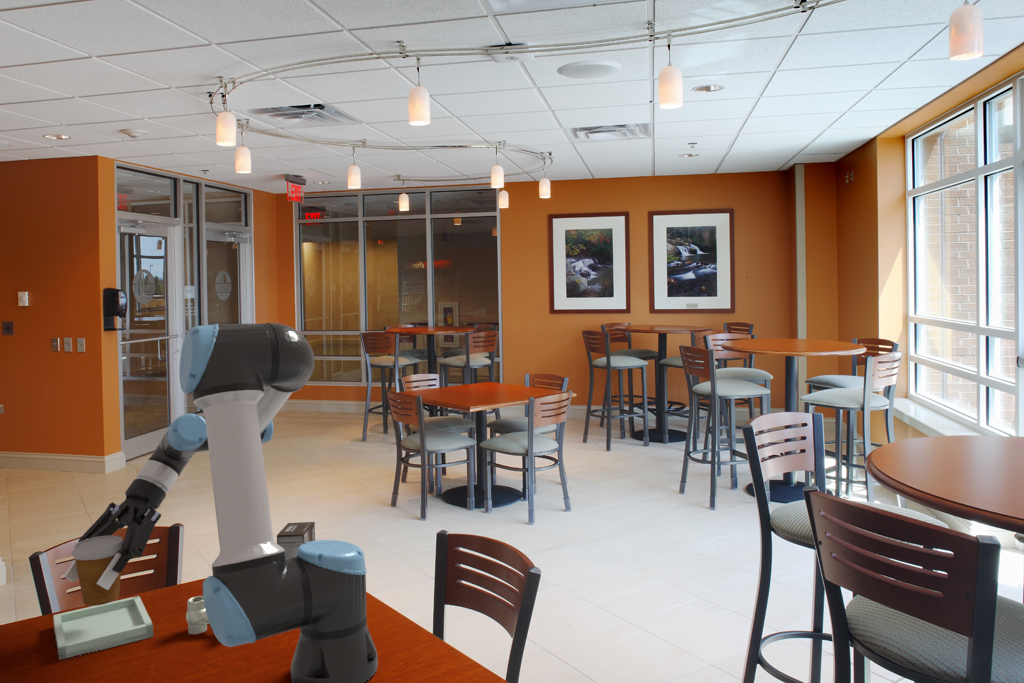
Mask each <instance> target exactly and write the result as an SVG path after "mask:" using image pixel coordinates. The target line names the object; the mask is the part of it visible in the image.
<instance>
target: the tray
mask: <svg viewBox="0 0 1024 683" xmlns="http://www.w3.org/2000/svg"><path fill="white" fill-rule="evenodd" d="M52 617H53V629H54V636H56V637H55V643H56V642H57V643H56V647H57V649H58V650H57V656H58V655H59V656H58V661H59V660H60V659H65V658H69V657H73V656H76V655H80V656H82V655H81V654H84V653H88V654H90V653H89V652H92V653H95V651H96V652H99V651H98V650H100V651H102V650H107V649H110V648H114V647H118V646H121V645H126V644H131V643H133V642H139V641H141V640H145V639H149V638H153V637H154V624H153V621H152V619H151V617H150V616H149V614H148V612H147V609H146V607H145V605H144V603H143V601H142V598H141V596H140V595H135V596H132V597H127V598H122V599H118V600H114V601H112V602H110V603H107V604H103V605H97V606H88V607H87V606H86V607H83V608H79V609H75V610H70V611H65V612H61V613H57V614H53V616H52ZM93 651H94V652H93ZM84 655H85V654H84ZM73 658H74V657H73ZM69 659H70V658H69ZM65 660H66V659H65Z"/></svg>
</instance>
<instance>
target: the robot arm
mask: <svg viewBox="0 0 1024 683" xmlns="http://www.w3.org/2000/svg"><path fill="white" fill-rule="evenodd" d="M310 344H311V343H309V341H308V340H307V338H306V337H305V336H304V335H303V334H302V333H300V332H299V331H298V330H296V328H293V327H291V326H289V325H287V324H283V323H277V322H266V323H265V322H264V323H213V324H207V325H197V326H196V325H195V326H193V327H191V328H190V329H189V330H188V331H187V332H186V334H185V336H184V339H183V341H182V346H181V351H180V357H179V358H180V359H179V371H178V372H179V377H178V378H179V384H180V389H181V391H182V392H183V393H185V394H189V395H190V394H192V399H193V400H192V401H193V405H195V406H196V407H197V408H198V409H200V410H201V411H203V413H204V417H203V416H201V415H198V414H196V413H184V414H182V415H179V416H178V417H177V418H176V419H175V420H174V421H172V422H171V423H170V425H169V427H168V428H167V431H166V432H165V434H164V435H163V437H162V438H161V441H160V442H159V444H158V445H157V446H156V448H155V450H154V451H153V453H152V454H150V457H149V458H148V459H147V461H146V462H145V463H144V465H143V466H142V468H140V470H139V471H138V473H137V475H136V479H133V481H131V483H130V485H129V486H128V487H127V489H126V490H125V491H124V492H125V499H124V501H122V502H121V503H120V504H116V503H114V501H113V502H110V503H109V504H108V506H107V508H106V509H105V511H104V512H103V513H102V514H101V515H100V516H99V517H98V518H97V520H95V522H94V523H93V524H92V525H91V526H90V527H89V528H88V529H87V530H86V531H85V532H84V533H83V535H81V537H79V539H78V542H80V541H83V540H86V539H89V538H93V537H98V536H108V535H114V533H116V532H117V531H119V530H121V529H123V528H125V527H127V528H126V532H125V534H124V539H123V541H124V542H123V546H122V549H121V550H120V551H119V552H120V553H121V554H122V555H121V554H119V553H116V555H115V556H114V558H113V559H112V561H111V562H110V564H109V565H108V567H107V568H106V570H105V571H104V573H103V574H102V576H101V577H100V579H99V580H98V582H97V583H96V584H98V585H99V586H101V587H103V588H104V589H106V590H109V588H110V587H111V585H112V584H113V582H114V581H115V579H116V577H117V576H118V574H119V573H121V574H122V572H123V571H124V569H125V568H126V566H127V564H128V563H129V561H130V560H132V559H133V558H135V557H136V558H141V557H142V555H143V554H144V551H145V548H146V547H147V544H148V541H149V540H150V538H151V535H152V533H153V531H154V528H155V525H156V524H157V523H158V522H159V520H160V519H161V517H162V514H161V513H160V512H159V511H157V510H158V509H159V508H160V506H161V505H162V503H163V501H164V500H165V498H166V497H167V493H169V492H170V490H171V489H172V488H173V486H174V484H175V482H176V481H177V480H178V478H179V477H180V476H181V473H183V470H184V469H185V467H186V466H187V465H188V464H189V462H190V460H191V459H192V458H193V456H194V455H195V454H196V453H202V452H208V455H209V464H210V472H211V482H212V490H213V500H214V509H215V516H216V527H217V535H218V542H219V551H220V552H219V554H218V556H216V558H215V559H214V561H213V562H212V563H211V569H212V575H209V576H208V577H206V578H205V579H203V582H202V596H203V600H204V605H205V610H206V613H207V617H208V620H209V623H210V624H209V625H210V628H211V630H212V633H213V634H214V635H215V638H216V639H217V640H218V642H219V643H220V644H221V645H223V646H225V647H230V648H232V647H238V646H242V645H245V644H254V643H256V641H258V640H262V639H266V638H269V637H272V636H277V635H279V634H283V633H286V632H290V631H293V630H297V629H299V637H298V641H297V645H296V647H295V651H294V653H293V658H292V660H291V665H290V678H291V683H364V682H365V683H367V682H368V681H369V680H371V679H372V678H373V677H374V676H375V674H376V673H377V671H378V668H377V667H379V666H378V665H379V661H378V660H379V659H378V657H379V656H378V652H377V648H376V646H375V642H374V641H373V638H372V636H371V633H370V630H369V627H368V622H367V579H366V577H367V575H366V574H367V569H366V562H365V561H366V560H365V554H364V551H363V550H362V549H361V548H360V546H358V545H357V544H355V543H351V542H348V541H342V540H335V539H320V540H319V539H317V540H315V541H310V542H306V543H304V544H302V545H300V546H299V547H298V550H297V552H296V554H297V557H294V558H290V559H286V558H285V550H284V548H282V547H281V546H279V545H278V544H277V541H275V539H274V532H273V524H272V517H271V508H270V501H269V493H268V486H267V484H268V483H267V479H266V478H267V477H266V476H267V475H266V470H265V469H266V468H265V462H264V453H263V445H262V444H266V443H269V442H270V441H271V440H272V438H273V433H274V422H273V421H274V420H273V419H274V418H275V416H277V414H278V412H279V411H280V410H281V409H282V407H283V406H284V404H285V403H286V402H287V400H288V399H289V398H290V397H291V395H292V394H293V393H295V392H298V391H299V390H301V389H302V388H303V387H304V386H305V385H306V384H307V383H308V381H310V379H311V376H312V375H313V373H314V369H315V354H314V351H313V348H312V347H311V345H310ZM78 542H77V543H78ZM73 558H74V557H73ZM63 577H64V578H65V579H67V580H68V581H70V582H73V583H76V582H77V580H79V577H78V572H77V567H76V562H75V558H74V559H73V561H72V563H71V564H70V566H69V567H68V569H67V570H66V571H65V573H64V574H63ZM376 670H377V671H376ZM375 672H376V673H375ZM373 675H374V676H373ZM372 676H373V677H372ZM371 677H372V678H371ZM370 678H371V679H370ZM367 680H368V681H367ZM366 681H367V682H366Z"/></svg>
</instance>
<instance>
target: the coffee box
mask: <svg viewBox="0 0 1024 683" xmlns="http://www.w3.org/2000/svg"><path fill="white" fill-rule="evenodd" d="M315 524H316V523H315V521H305V522H302V521H301V522H287V524H286V525H285V526H284V527H283V528H282V529H281V530H280V531H279V532H278V533H277V535H276V543H277V544H278V545H279V546H281V547H282V548H284V550H285V558H286V559H290V558H294V557H297V554H296V552H297V550H298V547H299V546H300V545H302V544H304V543H306V542H310V541H316V531H315V530H316V527H315V526H316V525H315Z"/></svg>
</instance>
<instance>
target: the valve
mask: <svg viewBox="0 0 1024 683" xmlns="http://www.w3.org/2000/svg"><path fill="white" fill-rule="evenodd" d="M186 607H187V611H186V613H185V619H186V623H187V624H188V627H187V630H188V635H199V634H201V633H202V634H203V633H205V632H207V630H208V625H210V623H209V620H208V617H207V613H206V610H205V605H204V600H203V595H198V596H193V597H190V598H188V599H187V606H186Z"/></svg>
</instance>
